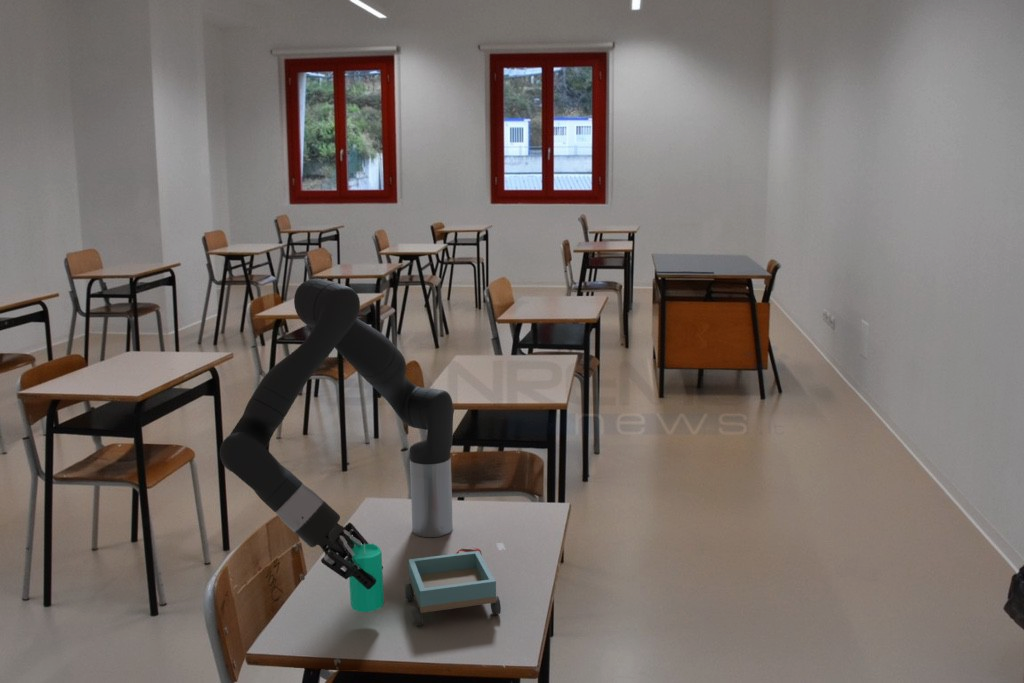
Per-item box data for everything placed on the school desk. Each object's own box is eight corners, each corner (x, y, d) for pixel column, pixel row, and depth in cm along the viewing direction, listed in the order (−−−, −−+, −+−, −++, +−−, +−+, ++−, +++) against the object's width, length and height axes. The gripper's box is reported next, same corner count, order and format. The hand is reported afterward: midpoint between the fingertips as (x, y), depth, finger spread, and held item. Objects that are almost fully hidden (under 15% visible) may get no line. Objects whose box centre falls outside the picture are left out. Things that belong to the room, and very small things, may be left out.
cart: (405, 595, 184) (403, 560, 182) (484, 585, 188) (483, 550, 186) (416, 629, 171) (415, 591, 169) (501, 617, 174) (500, 580, 173)
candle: (362, 594, 177) (358, 534, 174) (390, 599, 174) (387, 539, 172) (344, 608, 171) (340, 547, 169) (373, 614, 169) (369, 552, 166)
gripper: (309, 517, 162) (381, 583, 164) (332, 487, 176) (398, 548, 178) (281, 545, 164) (352, 610, 165) (306, 513, 178) (372, 574, 179)
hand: (376, 578), depth 172 cm, fingers closed on candle, 4 cm apart
